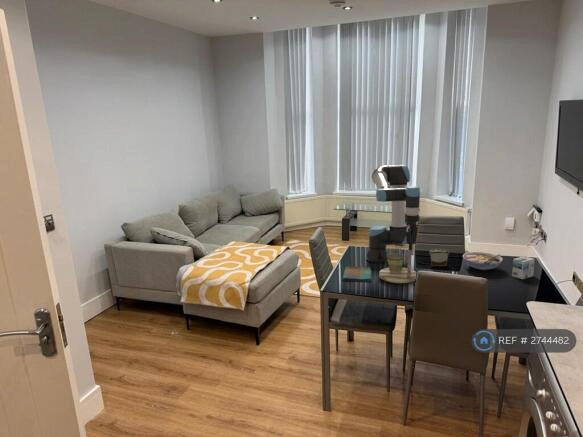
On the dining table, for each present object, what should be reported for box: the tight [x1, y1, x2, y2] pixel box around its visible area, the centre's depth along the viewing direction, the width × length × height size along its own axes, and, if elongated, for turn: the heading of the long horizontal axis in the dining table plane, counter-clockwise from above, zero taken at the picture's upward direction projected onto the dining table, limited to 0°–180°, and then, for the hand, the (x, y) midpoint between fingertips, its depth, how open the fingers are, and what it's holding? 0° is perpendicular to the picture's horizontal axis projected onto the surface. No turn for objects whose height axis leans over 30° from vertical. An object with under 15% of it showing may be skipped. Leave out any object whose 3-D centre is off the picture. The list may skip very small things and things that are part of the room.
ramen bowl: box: [462, 251, 503, 271], centre depth 249 cm, size 25×23×8 cm
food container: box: [428, 248, 450, 267], centre depth 260 cm, size 12×6×10 cm, turn 84°
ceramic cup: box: [387, 252, 408, 274], centre depth 240 cm, size 13×10×10 cm
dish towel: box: [342, 266, 372, 283], centre depth 249 cm, size 17×23×2 cm
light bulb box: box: [511, 255, 536, 280], centre depth 234 cm, size 11×7×11 cm, turn 118°
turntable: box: [378, 249, 418, 284], centre depth 236 cm, size 22×22×19 cm
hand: (411, 254), depth 227 cm, fingers closed
